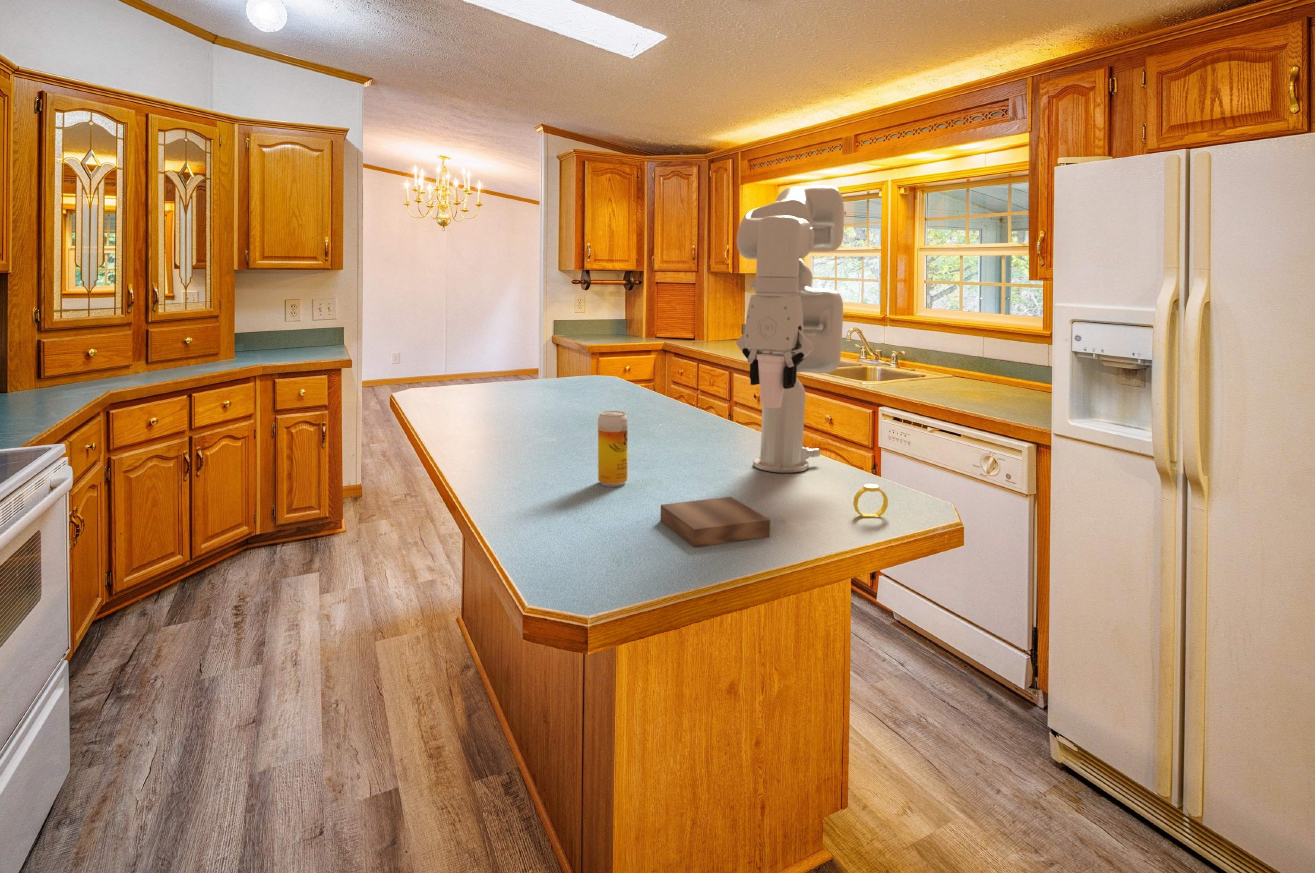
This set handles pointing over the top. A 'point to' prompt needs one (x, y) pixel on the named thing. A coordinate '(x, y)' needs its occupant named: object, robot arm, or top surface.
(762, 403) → the smoothie
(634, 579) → the top surface
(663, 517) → the walnut base
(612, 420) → the beer can
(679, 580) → the top surface
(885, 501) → the watch
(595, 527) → the top surface
